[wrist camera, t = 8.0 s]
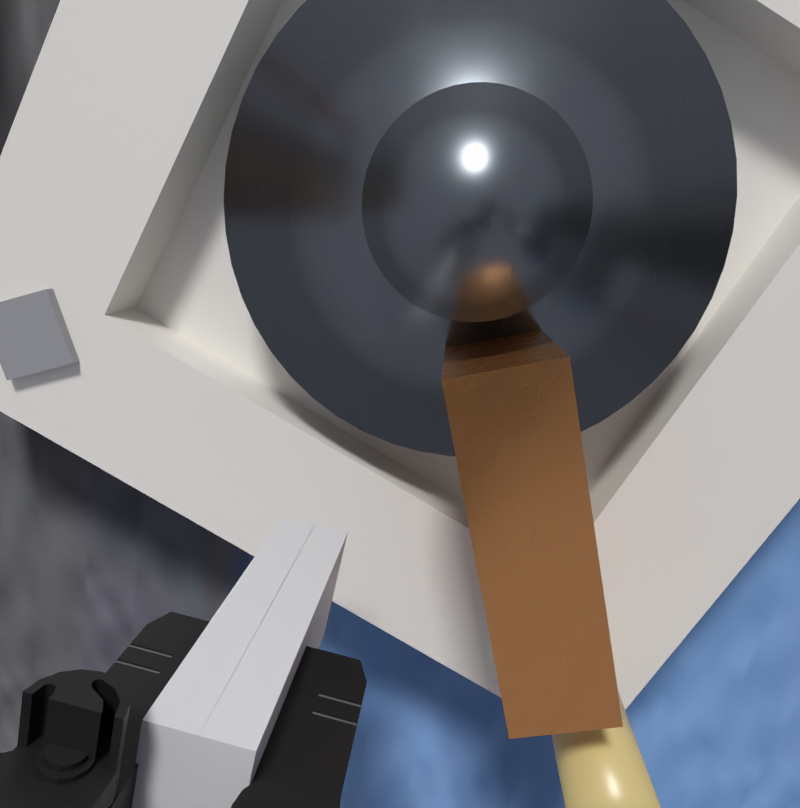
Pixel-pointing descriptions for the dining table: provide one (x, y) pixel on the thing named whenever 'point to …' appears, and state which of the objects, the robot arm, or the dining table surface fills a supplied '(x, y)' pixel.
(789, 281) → the housing
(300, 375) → the dial
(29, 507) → the dining table surface
